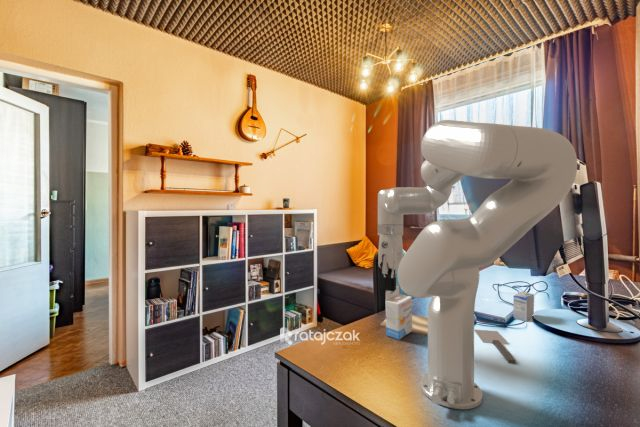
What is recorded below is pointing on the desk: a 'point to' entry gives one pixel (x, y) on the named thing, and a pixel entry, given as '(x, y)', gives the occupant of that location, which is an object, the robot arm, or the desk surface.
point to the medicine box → (523, 306)
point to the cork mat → (416, 325)
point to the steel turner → (496, 343)
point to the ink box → (398, 314)
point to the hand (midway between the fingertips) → (390, 289)
